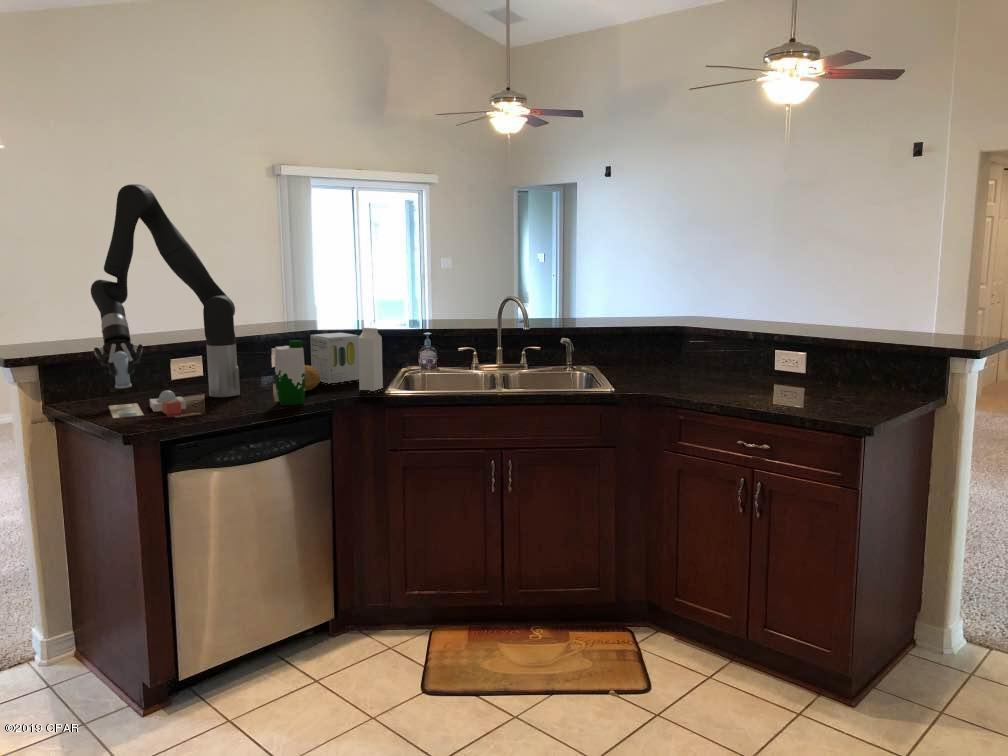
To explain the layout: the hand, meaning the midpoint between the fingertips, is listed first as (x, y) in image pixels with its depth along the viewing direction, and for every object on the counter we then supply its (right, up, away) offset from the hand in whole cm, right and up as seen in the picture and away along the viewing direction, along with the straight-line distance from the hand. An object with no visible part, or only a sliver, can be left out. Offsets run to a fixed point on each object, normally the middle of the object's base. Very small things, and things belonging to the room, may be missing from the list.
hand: (122, 374), depth 230 cm
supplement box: (+52, -3, +55) cm, 76 cm away
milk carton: (+47, -9, +13) cm, 50 cm away
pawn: (-1, -4, +2) cm, 5 cm away
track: (+3, -12, -3) cm, 12 cm away
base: (+13, -11, +1) cm, 17 cm away
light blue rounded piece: (+13, -10, +1) cm, 17 cm away
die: (+18, -12, -6) cm, 22 cm away
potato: (+46, -6, +33) cm, 57 cm away
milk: (+69, -6, +35) cm, 78 cm away
